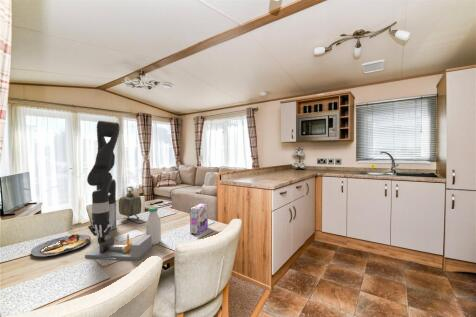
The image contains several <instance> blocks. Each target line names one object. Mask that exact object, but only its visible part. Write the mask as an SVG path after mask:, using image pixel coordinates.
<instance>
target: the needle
mask: <svg viewBox="0 0 476 317" xmlns="http://www.w3.org/2000/svg"><path fill="white" fill-rule="evenodd" d="M131 244H133V242H132V241H130V234H127V235H126V244H125V245H126V246H124V252H125V253H126V252H127V251H129V250H130V249H131Z"/></svg>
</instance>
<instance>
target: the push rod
mask: <svg viewBox="0 0 476 317" xmlns="http://www.w3.org/2000/svg"><path fill="white" fill-rule="evenodd" d="M114 244H115V235H109V236H107V237H105V240H103V241H101V242H99V243H98V245H99V246H100V253H104V252H106V251H107V250H116V251H122V252H124V246H126V245H127V244H116V245H114ZM99 246H98V247H99Z"/></svg>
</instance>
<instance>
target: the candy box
mask: <svg viewBox="0 0 476 317" xmlns="http://www.w3.org/2000/svg"><path fill="white" fill-rule="evenodd" d="M208 206H209V205H208V204H207V203H199V204H197V205H195V206H193V207H192V206H191V208H190V209H189V224H190V225H189V233H193V234H192V235H196V234H198V235H200V234H201V233H202V232H204V231H205V230H206V229H208V228H209V225H208V224H209V216H208V214H209V213H208V210H209V209H208ZM203 230H204V231H203ZM200 232H201V233H200ZM199 233H200V234H199Z"/></svg>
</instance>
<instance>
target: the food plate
mask: <svg viewBox="0 0 476 317" xmlns="http://www.w3.org/2000/svg"><path fill="white" fill-rule="evenodd" d="M91 240H92V238H91V236H90V235H87V234H71V235H65V236H61V237H57V238H54V239H51V240H47V241H44V242H41V243H40V244H37V245H36V246H34V247H33V248H32V249H31V250H30V253H31V255H32V256H35V257H48V256H49V257H50V256H56V255H59V254H63V253H67V252H69V251H73V250H77V249H79V248H81V247H85V246H86V245H88V244H89V243H90V242H91ZM59 241H60V242H59ZM57 242H58V243H60V244H59V245H58V244H57V245H53V244H56V243H57ZM50 245H53V246H52V247H48V246H50ZM45 247H47V248H45ZM44 248H45V249H44ZM42 249H44V250H43V251H42V252H41V250H42Z"/></svg>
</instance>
